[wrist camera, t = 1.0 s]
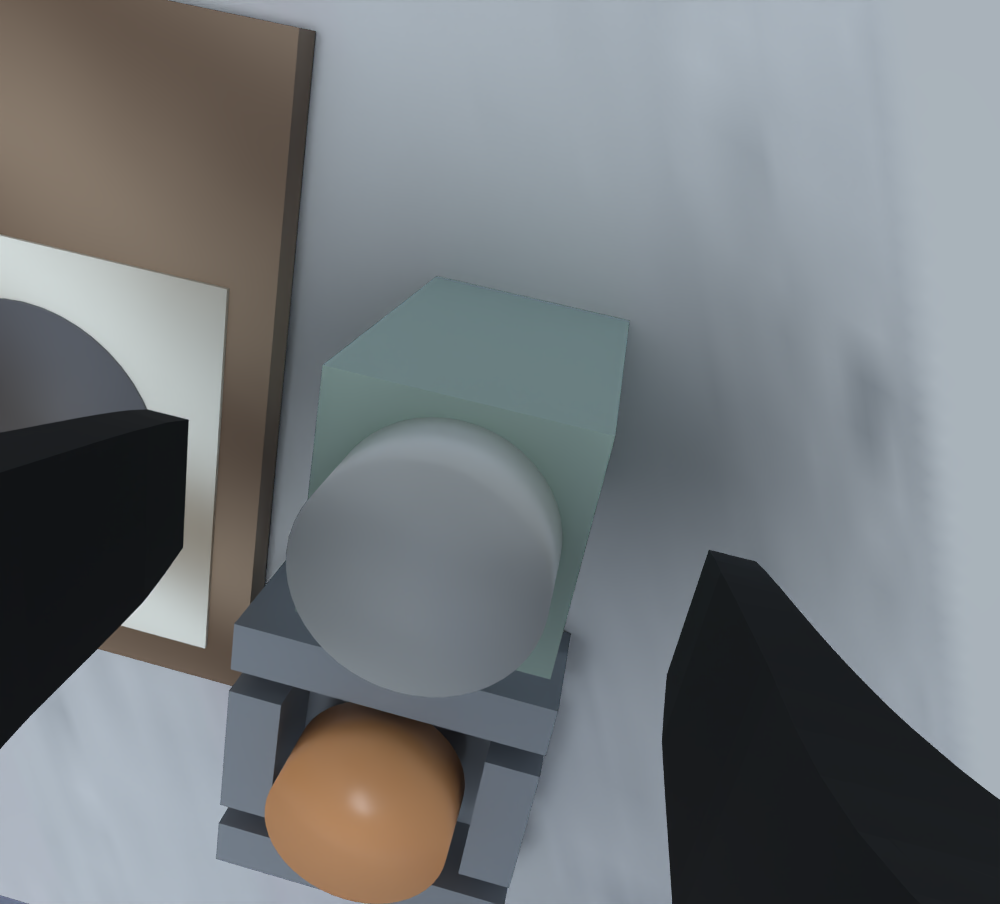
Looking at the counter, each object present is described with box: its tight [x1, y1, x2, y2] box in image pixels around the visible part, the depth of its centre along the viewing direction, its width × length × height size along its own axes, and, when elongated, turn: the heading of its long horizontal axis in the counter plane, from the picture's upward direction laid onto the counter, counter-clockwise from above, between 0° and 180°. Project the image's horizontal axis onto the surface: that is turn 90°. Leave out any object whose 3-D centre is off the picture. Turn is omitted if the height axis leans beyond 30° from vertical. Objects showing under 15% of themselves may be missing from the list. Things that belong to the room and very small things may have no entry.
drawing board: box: [0, 0, 316, 686], centre depth 19 cm, size 15×11×1 cm
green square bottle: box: [286, 276, 629, 697], centre depth 14 cm, size 4×4×8 cm
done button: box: [265, 702, 465, 904], centre depth 19 cm, size 4×4×2 cm
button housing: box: [216, 561, 571, 904], centre depth 20 cm, size 7×7×3 cm
